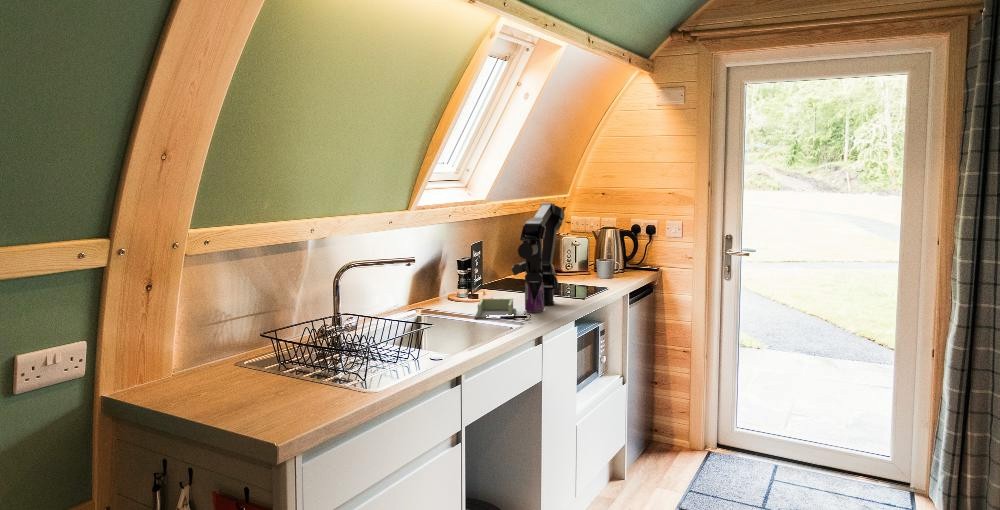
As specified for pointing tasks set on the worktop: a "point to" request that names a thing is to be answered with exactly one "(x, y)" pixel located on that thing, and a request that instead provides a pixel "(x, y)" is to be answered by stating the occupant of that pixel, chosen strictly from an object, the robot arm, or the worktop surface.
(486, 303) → the chute bracket
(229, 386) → the worktop surface
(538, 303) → the beverage can
